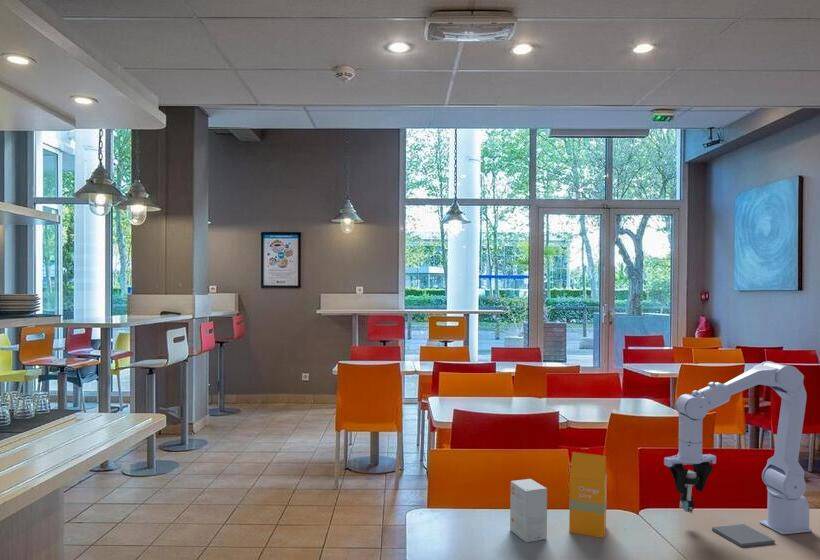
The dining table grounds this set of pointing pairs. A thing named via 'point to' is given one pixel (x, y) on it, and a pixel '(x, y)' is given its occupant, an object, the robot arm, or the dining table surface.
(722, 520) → the dining table surface
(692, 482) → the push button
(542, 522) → the small box
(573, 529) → the orange juice
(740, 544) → the rubber pad
